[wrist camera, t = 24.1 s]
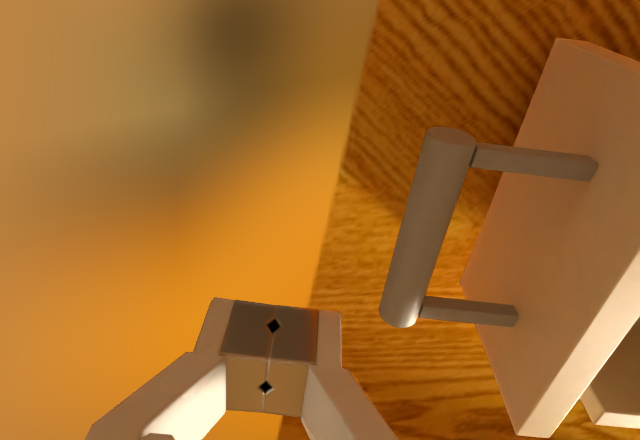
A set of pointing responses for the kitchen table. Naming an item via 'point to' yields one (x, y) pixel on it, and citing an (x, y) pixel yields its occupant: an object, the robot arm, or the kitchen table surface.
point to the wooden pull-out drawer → (543, 244)
